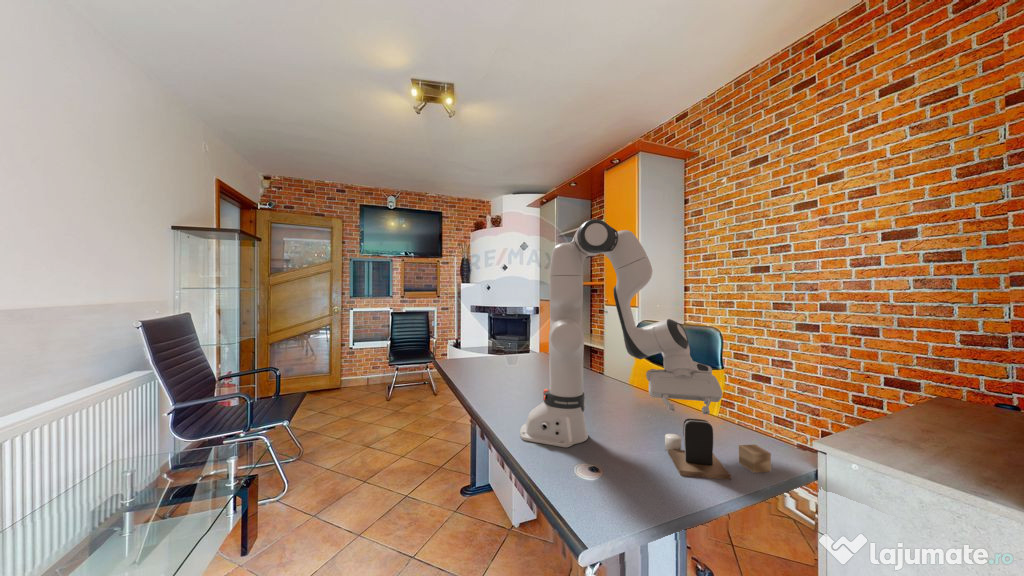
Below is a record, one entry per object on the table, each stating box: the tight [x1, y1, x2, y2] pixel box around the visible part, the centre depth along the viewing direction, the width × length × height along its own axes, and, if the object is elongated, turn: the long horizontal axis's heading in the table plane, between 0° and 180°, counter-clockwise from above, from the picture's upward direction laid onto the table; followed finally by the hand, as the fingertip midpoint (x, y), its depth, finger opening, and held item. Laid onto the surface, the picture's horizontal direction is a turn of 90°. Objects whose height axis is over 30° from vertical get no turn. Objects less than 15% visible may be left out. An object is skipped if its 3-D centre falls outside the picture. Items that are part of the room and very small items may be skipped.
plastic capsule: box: [664, 433, 682, 452], centre depth 102 cm, size 4×4×4 cm
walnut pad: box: [667, 449, 732, 481], centre depth 93 cm, size 12×12×1 cm
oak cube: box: [738, 444, 772, 473], centre depth 92 cm, size 5×5×5 cm
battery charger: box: [682, 418, 714, 465], centre depth 93 cm, size 7×4×11 cm, turn 75°
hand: (688, 412), depth 99 cm, fingers open, 8 cm apart
